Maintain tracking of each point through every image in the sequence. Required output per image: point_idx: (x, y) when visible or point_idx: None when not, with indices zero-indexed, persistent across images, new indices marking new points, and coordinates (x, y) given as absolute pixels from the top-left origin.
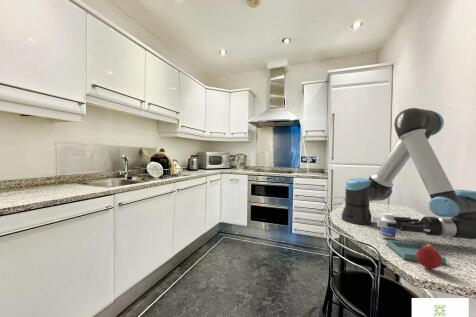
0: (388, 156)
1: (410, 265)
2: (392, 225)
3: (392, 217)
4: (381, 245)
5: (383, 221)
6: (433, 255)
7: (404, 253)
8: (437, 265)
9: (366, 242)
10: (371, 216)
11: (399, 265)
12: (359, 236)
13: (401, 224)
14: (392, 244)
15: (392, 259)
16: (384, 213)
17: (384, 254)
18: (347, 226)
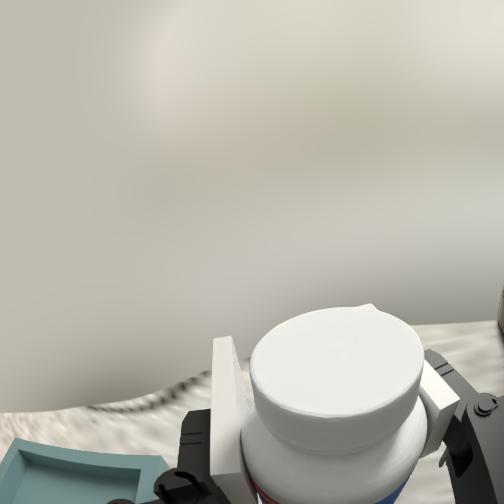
0: None
1: (5, 447)
2: (186, 451)
3: (259, 416)
4: (168, 449)
5: (214, 371)
6: None
7: (16, 440)
8: None
9: (196, 398)
10: (369, 308)
11: (15, 419)
12: None
13: (120, 500)
14: (96, 453)
15: (43, 424)
16: (324, 316)
17: (76, 420)
18: (426, 329)
